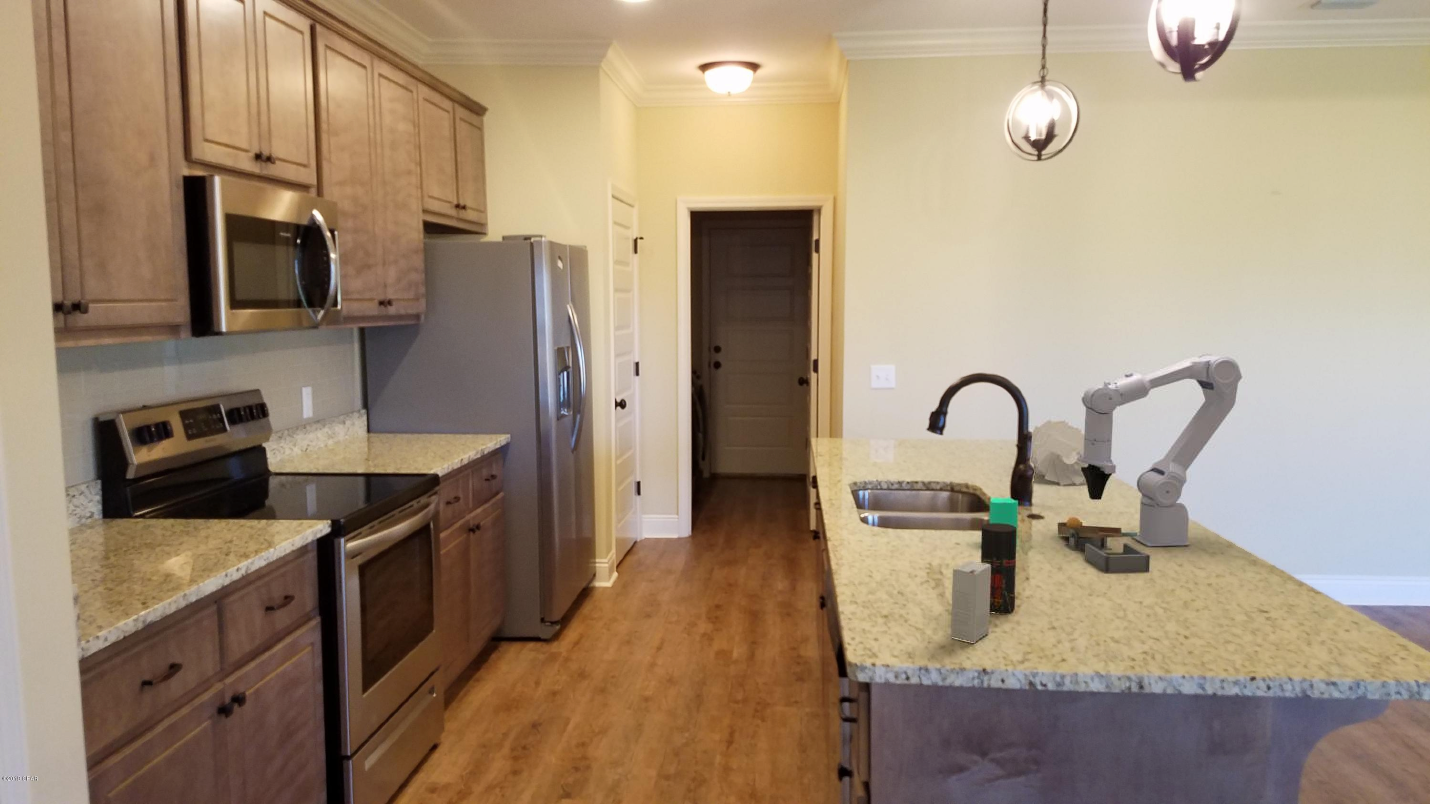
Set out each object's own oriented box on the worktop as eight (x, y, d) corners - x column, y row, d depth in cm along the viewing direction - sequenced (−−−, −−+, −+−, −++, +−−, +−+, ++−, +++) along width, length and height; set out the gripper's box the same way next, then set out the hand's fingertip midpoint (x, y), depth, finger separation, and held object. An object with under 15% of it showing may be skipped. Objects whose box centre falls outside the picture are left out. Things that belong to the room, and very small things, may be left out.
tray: (1126, 557, 191) (1127, 542, 191) (1149, 571, 182) (1149, 555, 182) (1084, 558, 191) (1085, 543, 191) (1105, 572, 182) (1105, 556, 181)
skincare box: (965, 628, 153) (966, 559, 151) (990, 634, 150) (992, 563, 149) (949, 639, 148) (950, 567, 147) (975, 645, 145) (976, 572, 144)
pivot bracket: (1102, 544, 202) (1103, 527, 202) (1111, 549, 198) (1112, 532, 197) (1064, 545, 202) (1065, 528, 201) (1073, 550, 198) (1073, 533, 197)
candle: (1018, 549, 199) (1019, 496, 197) (990, 548, 200) (991, 495, 199) (1015, 542, 205) (1016, 490, 203) (987, 541, 206) (988, 490, 204)
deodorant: (976, 602, 165) (977, 523, 164) (1009, 602, 165) (1011, 522, 163) (985, 614, 159) (986, 531, 158) (1019, 614, 159) (1020, 531, 157)
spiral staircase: (1063, 484, 284) (1085, 498, 259) (1011, 460, 285) (1028, 471, 261) (1090, 432, 282) (1115, 441, 257) (1037, 408, 283) (1057, 415, 258)
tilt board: (1100, 533, 210) (1099, 521, 210) (1143, 536, 190) (1142, 523, 190) (1058, 534, 209) (1057, 522, 210) (1096, 538, 189) (1095, 524, 190)
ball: (1077, 529, 209) (1077, 516, 209) (1083, 532, 206) (1083, 518, 205) (1064, 530, 209) (1063, 516, 209) (1069, 532, 205) (1069, 518, 205)
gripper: (1067, 434, 209) (1065, 492, 210) (1093, 444, 194) (1091, 506, 196) (1097, 434, 209) (1095, 491, 210) (1126, 444, 194) (1123, 506, 196)
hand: (1095, 499), depth 203 cm, fingers closed
